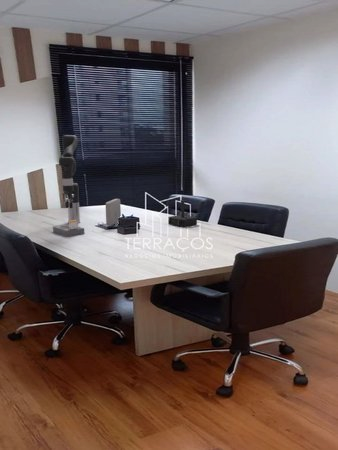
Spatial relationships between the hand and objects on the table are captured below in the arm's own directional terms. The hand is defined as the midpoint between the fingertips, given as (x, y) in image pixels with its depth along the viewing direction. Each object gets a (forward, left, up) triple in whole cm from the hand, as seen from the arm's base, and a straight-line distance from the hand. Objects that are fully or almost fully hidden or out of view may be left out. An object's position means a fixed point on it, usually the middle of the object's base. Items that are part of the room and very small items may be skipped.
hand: (69, 207), depth 310 cm
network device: (-5, +42, -20) cm, 47 cm away
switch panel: (-3, 0, -19) cm, 20 cm away
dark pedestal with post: (+34, +82, -20) cm, 91 cm away
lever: (+5, 0, -15) cm, 16 cm away
